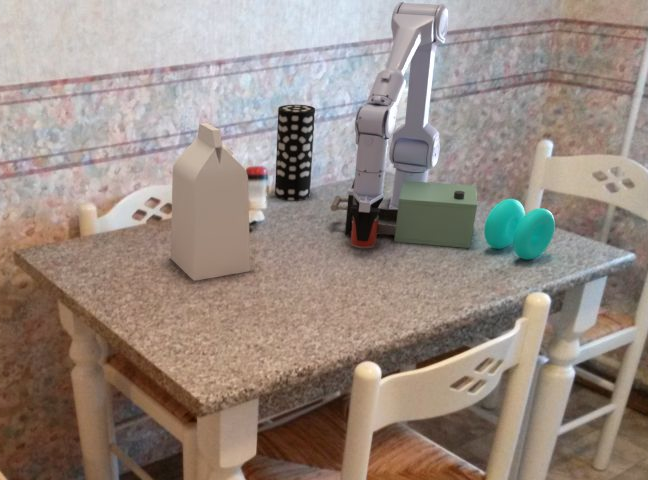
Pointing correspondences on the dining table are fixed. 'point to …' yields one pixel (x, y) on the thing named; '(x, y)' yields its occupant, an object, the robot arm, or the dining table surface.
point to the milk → (210, 209)
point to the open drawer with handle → (385, 215)
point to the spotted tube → (294, 151)
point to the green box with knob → (436, 214)
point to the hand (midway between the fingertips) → (363, 235)
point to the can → (371, 240)
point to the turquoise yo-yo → (519, 228)
